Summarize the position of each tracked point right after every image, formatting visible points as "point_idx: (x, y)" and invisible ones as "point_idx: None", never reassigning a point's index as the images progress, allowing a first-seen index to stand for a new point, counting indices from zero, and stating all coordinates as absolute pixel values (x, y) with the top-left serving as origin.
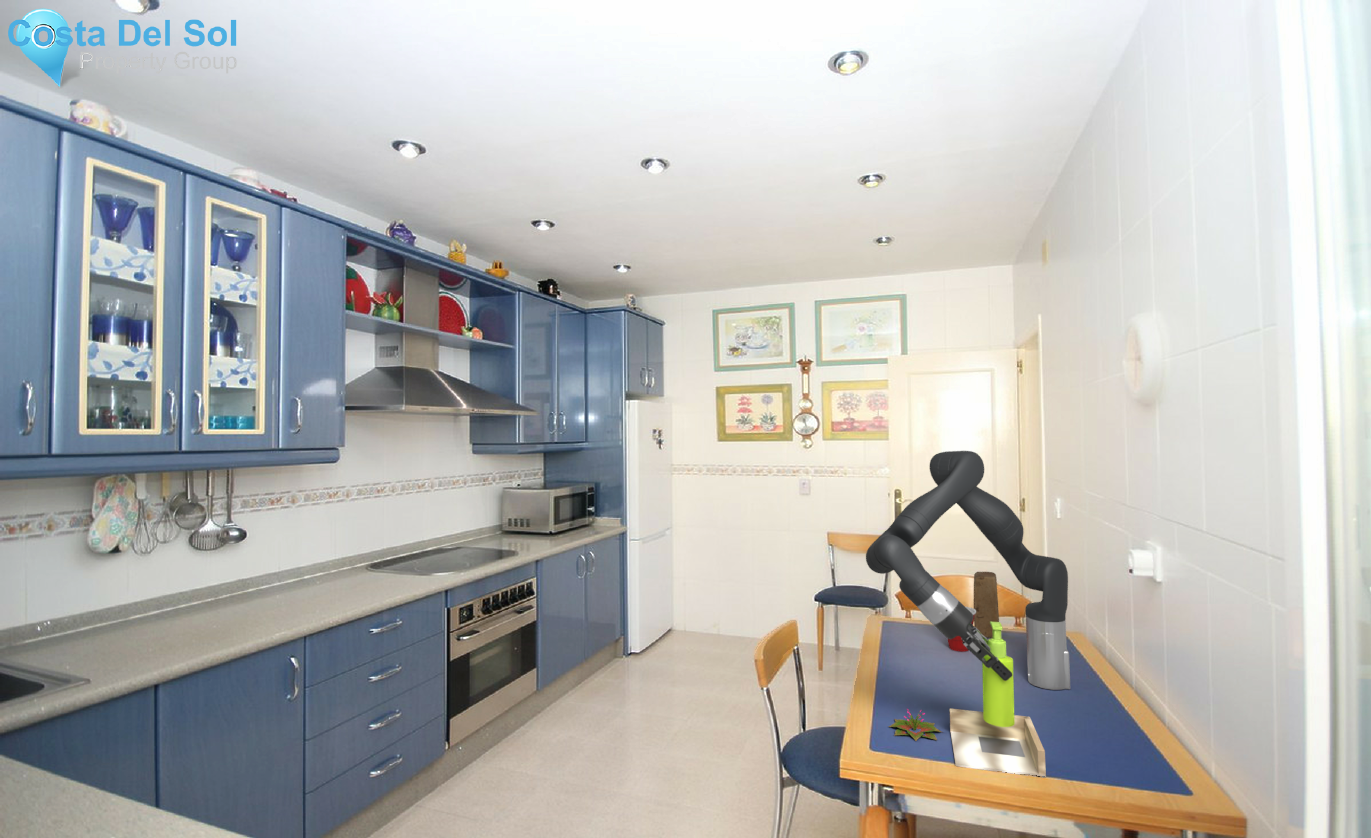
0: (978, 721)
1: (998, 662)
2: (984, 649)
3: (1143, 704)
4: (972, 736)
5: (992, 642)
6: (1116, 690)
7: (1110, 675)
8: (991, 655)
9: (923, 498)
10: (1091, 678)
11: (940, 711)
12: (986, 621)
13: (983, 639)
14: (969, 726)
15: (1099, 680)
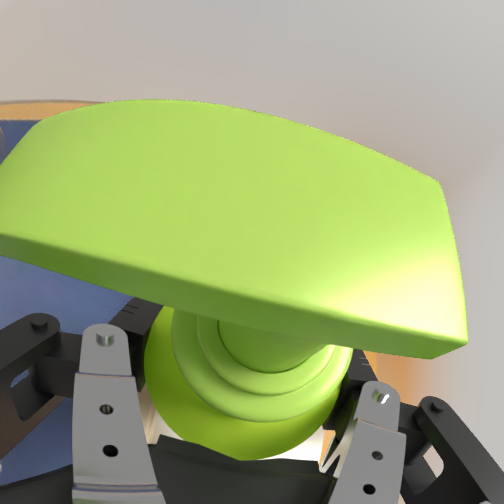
0: (151, 417)
1: (362, 386)
2: (498, 471)
3: (84, 104)
4: (169, 435)
5: (328, 395)
6: (41, 115)
7: (11, 110)
8: (469, 430)
9: None
10: (5, 127)
11: (34, 437)
12: None
13: (340, 493)
14: (149, 437)
15: (13, 122)
